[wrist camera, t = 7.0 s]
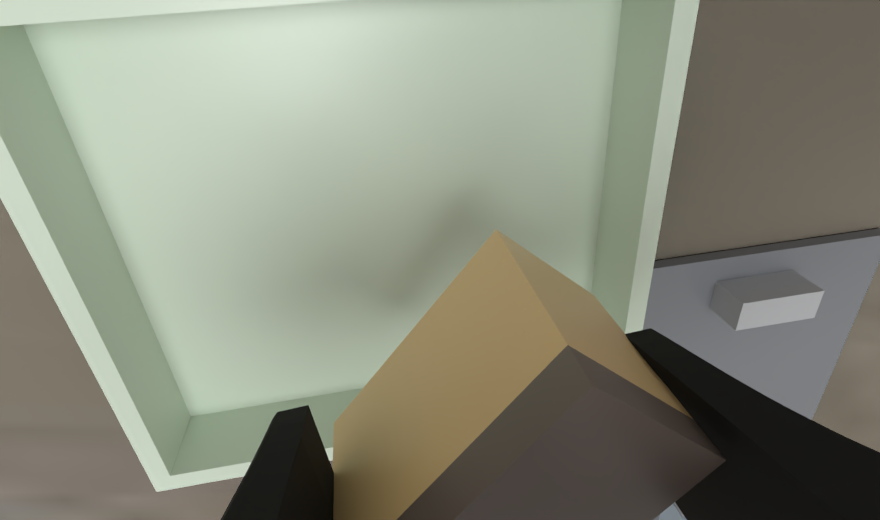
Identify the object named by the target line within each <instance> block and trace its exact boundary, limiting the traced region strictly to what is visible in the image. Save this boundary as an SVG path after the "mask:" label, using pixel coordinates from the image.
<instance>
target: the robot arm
mask: <svg viewBox="0 0 880 520" xmlns="http://www.w3.org/2000/svg"><path fill="white" fill-rule="evenodd" d="M625 335H626V337H627V338H628V340H629V341H630V342H631V343H632V345H633V346H634V347H635V348H636V350H637V351H638V352H639V353H640V355H641V356H642V357H643V358H644V360H645V361H646V362H647V363H648V365H649V366H650V367H651V368H652V369H653V371H654V372H655V373H656V374H657V375H658V376H659V378H660V379H661V380H662V381H663V382H664V384H665V385H666V386H667V387H668V388H669V389H670V391H671V392H672V393H673V394H674V396H675V397H676V398H677V399H678V401H679V402H680V403H681V404H682V406H683V407H684V408H685V409H686V411H687V412H688V413H689V414H690V416H691V417H692V418H693V419H694V421H695V422H696V423H697V424H698V426H699V427H700V428H701V429H702V431H703V432H704V433H705V434H706V436H707V437H708V438H709V439H710V441H711V442H712V443H713V444H714V446H715V447H716V448H717V449H718V451H719V452H720V453H721V454H722V456H723V457H724V458H725V459H726V461H725V462H724V463H722V464H721V465H720V466H719V467H718V468H716V469H715V470H714V471H713V472H711V473H710V474H709V475H708V476H706V477H705V478H704V479H703V480H701V481H700V482H699V483H698V484H697V485H695V486H694V487H693V488H692V489H690V490H689V491H688V492H687V493H685V494H684V495H683V496H682V497H680V498H679V499H678V500H677V501H676V502H675V503H676V504H677V506H678V507H679V509H680V510H681V512H682V513H683V515H684V516H685V518H686V519H687V520H880V453H879V452H877V451H875V450H873V449H871V448H868V447H866V446H864V445H862V444H860V443H857V442H855V441H853V440H851V439H849V438H846V437H844V436H842V435H840V434H838V433H836V432H834V431H832V430H830V429H828V428H826V427H824V426H822V425H820V424H818V423H816V422H814V421H812V420H810V419H808V418H806V417H805V416H803V415H801V414H799V413H797V412H795V411H793V410H791V409H789V408H787V407H785V406H783V405H782V404H780V403H778V402H776V401H774V400H772V399H771V398H769V397H767V396H765V395H763V394H762V393H760V392H758V391H756V390H754V389H753V388H751V387H749V386H747V385H746V384H744V383H742V382H741V381H739V380H737V379H735V378H734V377H732V376H730V375H728V374H727V373H725V372H723V371H722V370H720V369H718V368H717V367H715V366H713V365H712V364H710V363H708V362H707V361H705V360H703V359H702V358H700V357H698V356H697V355H695V354H693V353H692V352H690V351H688V350H687V349H685V348H684V347H682V346H680V345H679V344H677V343H675V342H674V341H672V340H670V339H669V338H667V337H665V336H664V335H662V334H660V333H658V332H657V331H655V330H653V329H651V328H649V329H645V330H641V331H636V332H632V333H627V334H625ZM333 503H334V472H333V469H332V467H331V464H330V461H329V459H328V456H327V453H326V451H325V448H324V445H323V443H322V440H321V437H320V435H319V432H318V429H317V427H316V424H315V421H314V419H313V416H312V413H311V411H310V408H309V405H306V406H302V407H297V408H293V409H289V410H284V411H280V412H277V413H276V414H275V416H274V417H273V419H272V421H271V423H270V425H269V427H268V429H267V432H266V434H265V436H264V438H263V440H262V442H261V444H260V446H259V448H258V450H257V452H256V454H255V456H254V458H253V460H252V462H251V464H250V466H249V468H248V470H247V472H246V474H245V476H244V478H243V480H242V482H241V483H240V485H239V487H238V489H237V491H236V493H235V494H234V496H233V498H232V500H231V502H230V504H229V505H228V507H227V509H226V511H225V513H224V515H223V517H222V518H221V520H333Z"/></svg>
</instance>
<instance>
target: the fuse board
mask: <svg viewBox="0 0 880 520" xmlns="http://www.w3.org/2000/svg"><path fill="white" fill-rule="evenodd" d="M879 262H880V228H878V229H871V230H865V231H858V232H851V233H844V234H837V235H830V236H823V237H816V238H809V239H802V240H796V241H789V242H782V243H775V244H768V245H761V246H754V247H747V248H740V249H733V250H727V251H720V252H713V253H706V254H699V255H692V256H685V257H678V258H671V259H664V260H658V261H654V267H653V273H652V279H651V285H650V290H649V296H648V302H647V308H646V314H645V319H644V325H643V330H645V329H649V328H651V329H653V330H655V331H657V332H658V333H660V334H662V335H664V336H665V337H667V338H669V339H670V340H672V341H674V342H675V343H677V344H679V345H680V346H682V347H684V348H685V349H687V350H688V351H690V352H692V353H693V354H695V355H697V356H698V357H700V358H702V359H703V360H705V361H707V362H708V363H710V364H712V365H713V366H715V367H717V368H718V369H720V370H722V371H723V372H725V373H727V374H728V375H730V376H732V377H734V378H735V379H737V380H739V381H741V382H742V383H744V384H746V385H747V386H749V387H751V388H753V389H754V390H756V391H758V392H760V393H762V394H763V395H765V396H767V397H769V398H771V399H772V400H774V401H776V402H778V403H780V404H782V405H783V406H785V407H787V408H789V409H791V410H793V411H795V412H797V413H799V414H801V415H803V416H805V417H806V418H808V419H810V420H812V418H813V416H814V414H815V411H816V409H817V407H818V404H819V402H820V400H821V397H822V395H823V393H824V390H825V388H826V386H827V383H828V381H829V379H830V376H831V374H832V372H833V369H834V367H835V365H836V362H837V360H838V358H839V355H840V353H841V351H842V348H843V346H844V343H845V341H846V339H847V336H848V334H849V332H850V329H851V327H852V325H853V322H854V320H855V318H856V315H857V313H858V311H859V308H860V306H861V304H862V301H863V299H864V297H865V294H866V292H867V290H868V287H869V285H870V283H871V280H872V278H873V276H874V273H875V271H876V269H877V266H878V264H879ZM674 504H675V506H676V507H677V509H678V511H679V512H680V514H681V515H682V516H684V515H683V513H682V512H681V510H680V509H679V507H678V506H677V504H676V503H675V502H674ZM659 517H660V514H659V515H658V516H657V517H656V518H655V519H653V520H659Z"/></svg>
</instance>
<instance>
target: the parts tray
mask: <svg viewBox="0 0 880 520" xmlns="http://www.w3.org/2000/svg"><path fill="white" fill-rule="evenodd" d="M699 1H700V0H0V198H1V200H2V202H3V204H4V206H5V207H6V209H7V211H8V213H9V215H10V217H11V219H12V221H13V223H14V224H15V226H16V228H17V230H18V232H19V234H20V236H21V238H22V239H23V241H24V243H25V245H26V247H27V249H28V251H29V253H30V255H31V256H32V258H33V260H34V262H35V264H36V266H37V268H38V270H39V271H40V273H41V275H42V277H43V279H44V281H45V283H46V285H47V287H48V288H49V290H50V292H51V294H52V296H53V298H54V300H55V302H56V304H57V305H58V307H59V309H60V311H61V313H62V315H63V317H64V319H65V320H66V322H67V324H68V326H69V328H70V330H71V332H72V334H73V336H74V337H75V339H76V341H77V343H78V345H79V347H80V349H81V351H82V352H83V354H84V356H85V358H86V360H87V362H88V364H89V366H90V368H91V369H92V371H93V373H94V375H95V377H96V379H97V381H98V383H99V384H100V386H101V388H102V390H103V392H104V394H105V396H106V398H107V400H108V401H109V403H110V405H111V407H112V409H113V411H114V413H115V415H116V417H117V418H118V420H119V422H120V424H121V426H122V428H123V430H124V432H125V433H126V435H127V437H128V439H129V441H130V443H131V445H132V447H133V449H134V450H135V452H136V454H137V456H138V458H139V460H140V462H141V464H142V465H143V467H144V469H145V471H146V473H147V475H148V477H149V479H150V481H151V482H152V484H153V486H154V488H155V490H156V492H159V491H164V490H170V489H175V488H181V487H186V486H192V485H198V484H203V483H209V482H214V481H220V480H225V479H231V478H237V477H242V476H245V474H246V472H247V470H248V468H249V466H250V464H251V462H252V460H253V458H254V456H255V454H256V452H257V450H258V448H259V446H260V444H261V442H262V440H263V438H264V436H265V434H266V432H267V429H268V427H269V425H270V423H271V421H272V419H273V417H274V416H275V414H276V413H277V412H280V411H284V410H289V409H293V408H297V407H302V406H306V405H309V408H310V411H311V413H312V416H313V419H314V421H315V424H316V427H317V429H318V432H319V435H320V437H321V440H322V443H323V445H324V448H325V451H326V453H327V456H328V459H329V461H331V460H333V430H334V422H335V421H336V420H337V419H338V417H339V416H340V415H341V414H342V413H343V412H344V410H345V409H346V408H347V407H348V406H349V404H350V403H351V402H352V401H353V400H354V398H355V397H356V396H357V395H358V394H359V392H360V391H361V390H362V389H363V388H364V386H365V385H366V384H367V383H368V382H369V380H370V379H371V378H372V377H373V376H374V374H375V373H376V372H377V371H378V370H379V369H380V367H381V366H382V365H383V364H384V363H385V361H386V360H387V359H388V358H389V357H390V355H391V354H392V353H393V352H394V351H395V349H396V348H397V347H398V346H399V345H400V343H401V342H402V341H403V340H404V339H405V337H406V336H407V335H408V334H409V333H410V332H411V330H412V329H413V328H414V327H415V326H416V324H417V323H418V322H419V321H420V320H421V318H422V317H423V316H424V315H425V314H426V312H427V311H428V310H429V309H430V308H431V306H432V305H433V304H434V303H435V302H436V300H437V299H438V298H439V297H440V296H441V294H442V293H443V292H444V291H445V290H446V289H447V287H448V286H449V285H450V284H451V283H452V281H453V280H454V279H455V278H456V277H457V275H458V274H459V273H460V272H461V271H462V269H463V268H464V267H465V266H466V265H467V263H468V262H469V261H470V260H471V259H472V257H473V256H474V255H475V254H476V253H477V251H478V250H479V249H480V248H481V247H482V246H483V244H484V243H485V242H486V241H487V240H488V238H489V237H490V236H491V235H492V234H493V232H494V231H495V230H496V229H497V230H498V231H500V232H501V233H502V234H504V235H505V236H507V237H508V238H510V239H511V240H513V241H514V242H516V243H517V244H519V245H520V246H522V247H523V248H525V249H526V250H528V251H529V252H531V253H532V254H534V255H535V256H537V257H538V258H540V259H541V260H542V261H544V262H545V263H547V264H548V265H550V266H551V267H553V268H554V269H556V270H557V271H559V272H560V273H562V274H563V275H565V276H566V277H568V278H569V279H571V280H572V281H574V282H575V283H577V284H578V285H579V286H581V287H582V288H584V289H585V290H587V291H588V292H590V293H591V294H593V295H594V296H595V297H596V298H597V299H598V301H599V302H600V303H601V304H602V306H603V307H604V308H605V309H606V311H607V312H608V313H609V314H610V316H611V317H612V318H613V319H614V321H615V322H616V323H617V324H618V326H619V327H620V328H621V329H622V331H623V332H624V333H625V334H627V333H632V332H636V331H641V330H643V325H644V319H645V314H646V308H647V302H648V296H649V290H650V285H651V279H652V273H653V267H654V261H655V256H656V250H657V244H658V238H659V232H660V227H661V221H662V215H663V209H664V204H665V198H666V192H667V186H668V180H669V175H670V169H671V163H672V157H673V151H674V146H675V140H676V134H677V128H678V122H679V117H680V111H681V105H682V99H683V94H684V88H685V82H686V76H687V70H688V65H689V59H690V53H691V47H692V41H693V36H694V30H695V24H696V18H697V13H698V7H699Z"/></svg>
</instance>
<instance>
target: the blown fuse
mask: <svg viewBox="0 0 880 520" xmlns="http://www.w3.org/2000/svg"><path fill="white" fill-rule="evenodd" d="M725 461H726V459H725V458H724V457H723V456H722V454H721V453H720V452H719V451H718V449H717V448H716V447H715V446H714V444H713V443H712V442H711V441H710V439H709V438H708V437H707V436H706V434H705V433H704V432H703V431H702V429H701V428H700V427H699V426H698V424H697V423H696V422H695V421H694V419H693V418H692V417H691V416H690V414H689V413H688V412H687V411H686V409H685V408H684V407H683V406H682V404H681V403H680V402H679V401H678V399H677V398H676V397H675V396H674V394H673V393H672V392H671V391H670V389H669V388H668V387H667V386H666V385H665V384H664V382H663V381H662V380H661V379H660V378H659V376H658V375H657V374H656V373H655V372H654V371H653V369H652V368H651V367H650V366H649V365H648V363H647V362H646V361H645V360H644V358H643V357H642V356H641V355H640V353H639V352H638V351H637V350H636V348H635V347H634V346H633V345H632V343H631V342H630V341H629V340H628V338H627V337H626V335H625V333H624V332H623V331H622V329H621V328H620V327H619V326H618V324H617V323H616V322H615V321H614V319H613V318H612V317H611V316H610V314H609V313H608V312H607V311H606V309H605V308H604V307H603V306H602V304H601V303H600V302H599V301H598V299H597V298H596V297H595V296H594V295H593V294H591V293H590V292H588V291H587V290H585V289H584V288H582V287H581V286H579V285H578V284H577V283H575V282H574V281H572V280H571V279H569V278H568V277H566V276H565V275H563V274H562V273H560V272H559V271H557V270H556V269H554V268H553V267H551V266H550V265H548V264H547V263H545V262H544V261H542V260H541V259H540V258H538V257H537V256H535V255H534V254H532V253H531V252H529V251H528V250H526V249H525V248H523V247H522V246H520V245H519V244H517V243H516V242H514V241H513V240H511V239H510V238H508V237H507V236H505V235H504V234H502V233H501V232H500V231H498V230H497V229H496V230H495V231H494V232H493V234H492V235H491V236H490V237H489V238H488V240H487V241H486V242H485V243H484V244H483V246H482V247H481V248H480V249H479V250H478V251H477V253H476V254H475V255H474V256H473V257H472V259H471V260H470V261H469V262H468V263H467V265H466V266H465V267H464V268H463V269H462V271H461V272H460V273H459V274H458V275H457V277H456V278H455V279H454V280H453V281H452V283H451V284H450V285H449V286H448V287H447V289H446V290H445V291H444V292H443V293H442V294H441V296H440V297H439V298H438V299H437V300H436V302H435V303H434V304H433V305H432V306H431V308H430V309H429V310H428V311H427V312H426V314H425V315H424V316H423V317H422V318H421V320H420V321H419V322H418V323H417V324H416V326H415V327H414V328H413V329H412V330H411V332H410V333H409V334H408V335H407V336H406V337H405V339H404V340H403V341H402V342H401V343H400V345H399V346H398V347H397V348H396V349H395V351H394V352H393V353H392V354H391V355H390V357H389V358H388V359H387V360H386V361H385V363H384V364H383V365H382V366H381V367H380V369H379V370H378V371H377V372H376V373H375V374H374V376H373V377H372V378H371V379H370V380H369V382H368V383H367V384H366V385H365V386H364V388H363V389H362V390H361V391H360V392H359V394H358V395H357V396H356V397H355V398H354V400H353V401H352V402H351V403H350V404H349V406H348V407H347V408H346V409H345V410H344V412H343V413H342V414H341V415H340V416H339V417H338V419H337V420H336V421H335V422H334V430H333V472H334V503H333V520H653V519H655V518H656V517H657V516H658V515H659V514H661V513H662V512H663V511H664V510H666V509H667V508H668V507H669V506H671V505H672V504H673V503H674V502H676V501H677V500H678V499H679V498H680V497H682V496H683V495H684V494H685V493H687V492H688V491H689V490H690V489H692V488H693V487H694V486H695V485H697V484H698V483H699V482H700V481H701V480H703V479H704V478H705V477H706V476H708V475H709V474H710V473H711V472H713V471H714V470H715V469H716V468H718V467H719V466H720V465H721V464H722V463H724V462H725Z"/></svg>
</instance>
